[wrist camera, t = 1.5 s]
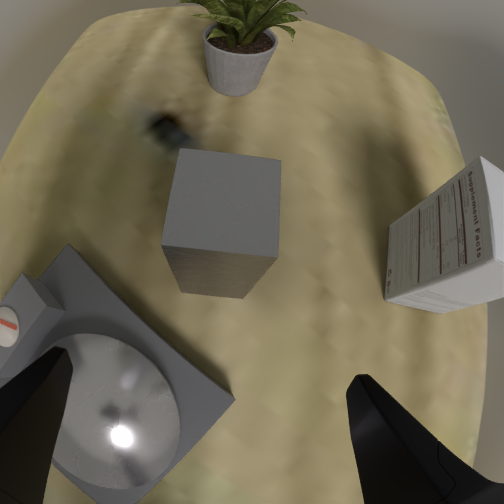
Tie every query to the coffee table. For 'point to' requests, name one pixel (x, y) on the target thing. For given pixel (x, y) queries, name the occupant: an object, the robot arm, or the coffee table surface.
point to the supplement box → (450, 244)
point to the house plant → (241, 41)
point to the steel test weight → (222, 221)
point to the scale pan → (116, 414)
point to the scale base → (109, 324)
